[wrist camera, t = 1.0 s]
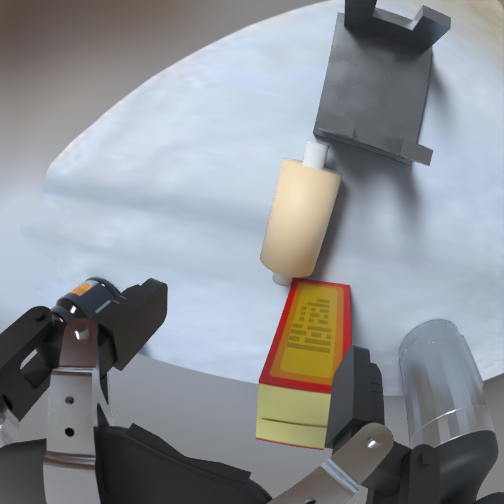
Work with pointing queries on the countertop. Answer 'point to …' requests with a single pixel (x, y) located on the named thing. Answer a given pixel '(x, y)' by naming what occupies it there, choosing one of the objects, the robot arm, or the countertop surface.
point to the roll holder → (379, 79)
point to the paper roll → (299, 215)
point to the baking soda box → (304, 364)
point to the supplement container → (84, 300)
